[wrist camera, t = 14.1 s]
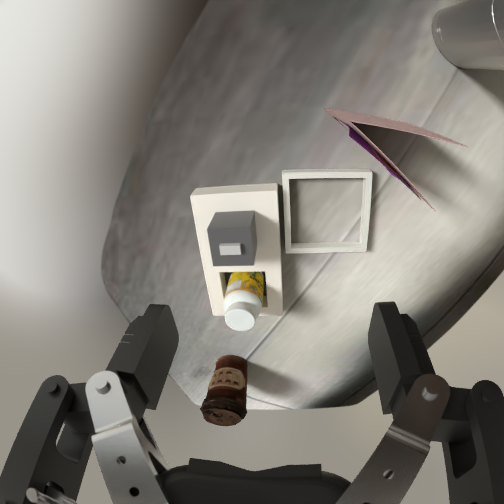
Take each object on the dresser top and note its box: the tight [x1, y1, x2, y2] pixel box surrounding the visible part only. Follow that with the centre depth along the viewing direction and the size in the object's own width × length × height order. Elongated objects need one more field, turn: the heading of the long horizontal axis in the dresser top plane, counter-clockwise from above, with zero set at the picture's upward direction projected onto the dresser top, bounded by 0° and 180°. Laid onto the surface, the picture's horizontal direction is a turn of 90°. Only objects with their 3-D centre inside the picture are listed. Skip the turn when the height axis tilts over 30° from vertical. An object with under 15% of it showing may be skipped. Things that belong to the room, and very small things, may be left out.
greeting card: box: [324, 109, 467, 212], centre depth 28 cm, size 11×7×15 cm, turn 53°
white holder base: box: [190, 183, 283, 316], centre depth 41 cm, size 11×20×9 cm, turn 5°
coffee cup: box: [200, 356, 247, 426], centre depth 53 cm, size 9×8×13 cm
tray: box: [282, 169, 372, 254], centre depth 40 cm, size 12×12×2 cm
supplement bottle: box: [223, 271, 265, 331], centre depth 43 cm, size 5×5×10 cm
